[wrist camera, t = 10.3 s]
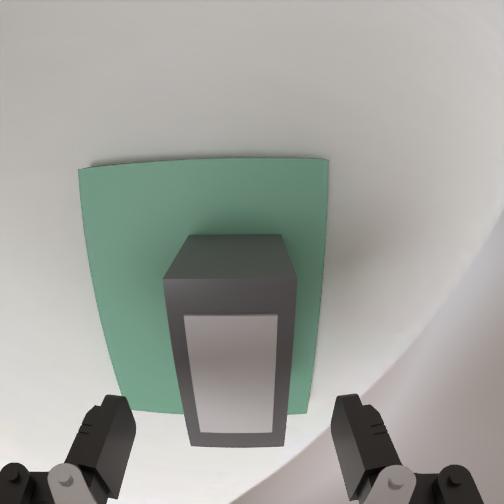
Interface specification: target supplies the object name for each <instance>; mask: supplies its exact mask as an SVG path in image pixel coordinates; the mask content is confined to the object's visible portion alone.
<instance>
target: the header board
mask: <svg viewBox="0 0 504 504" xmlns="http://www.w3.org/2000/svg"><path fill="white" fill-rule="evenodd" d="M328 164H329V160H326V159H316V158H262V157H259V158H205V159H182V160H165V161H150V162H137V163H126V164H115V165H105V166H96V167H88V168H83V169H78V176H79V189H80V200H81V209H82V218H83V226H84V234H85V241H86V248H87V254H88V260H89V266H90V272H91V277H92V282H93V287H94V292H95V297H96V302H97V307H98V311H99V315H100V320H101V324H102V328H103V332H104V336H105V340H106V344H107V347H108V351H109V355H110V358H111V362H112V365H113V369H114V372H115V375H116V379H117V382H118V385H119V388H120V391H121V394H122V396H125V397H126V398H127V400H128V403H129V406H130V409H131V410H138V411H148V412H158V413H170V414H184V412H183V407H182V402H181V396H180V391H179V386H178V380H177V375H176V369H175V363H174V357H173V351H172V345H171V338H170V332H169V325H168V318H167V310H166V303H165V295H164V286H163V277H164V276H165V274H166V272H167V270H168V269H169V267H170V265H171V264H172V262H173V260H174V259H175V257H176V255H177V254H178V252H179V250H180V249H181V247H182V245H183V244H184V242H185V240H186V239H187V237H188V235H240V234H281V236H282V238H283V241H284V244H285V246H286V249H287V251H288V254H289V257H290V259H291V262H292V265H293V267H294V270H295V273H296V275H297V295H296V312H295V327H294V341H293V354H292V367H291V379H290V390H289V401H288V411H287V415H290V414H305V413H307V409H308V402H309V395H310V388H311V381H312V373H313V365H314V357H315V349H316V340H317V331H318V322H319V312H320V302H321V291H322V279H323V266H324V252H325V236H326V218H327V196H328Z"/></svg>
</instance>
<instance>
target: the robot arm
mask: <svg viewBox="0 0 504 504" xmlns="http://www.w3.org/2000/svg"><path fill="white" fill-rule="evenodd" d="M78 432H79V433H77V435H76V437H75V440H74V442H73V444H72V447H71V449H70V451H69V453H68V456H67V458H66V460H65V462H64V463H62V464H58V465H56V466H54V467H53V468H52V469H51V470H50V472H29V471H28V470H27V469H26V467H25V466H23V465H22V464H20V463H9V464H7V465H6V466H4V467H3V468H2V470H1V471H0V504H106V503H107V499H108V498H113V499H118V496H119V492H120V488H121V484H122V481H123V477H124V473H125V470H126V466H127V462H128V459H129V455H130V452H131V448H132V445H133V441H134V438H135V434H136V423H135V420H134V417H133V414H132V411H131V409H130V406H129V403H128V400H127V398H126V397H125V396H116V395H106V396H105V398H104V400H103V402H102V404H101V406H96V405H95V406H94V407H93V408H92V409H91V410H90V411H89V412H88V413H86V416H85V418H84V420H83V422H82V425H81V426H80V429H79V431H78ZM331 434H332V437H333V441H334V445H335V449H336V452H337V456H338V460H339V463H340V467H341V471H342V475H343V478H344V482H345V486H346V490H347V494H348V497H349V501H352V500H359V504H484V503H483V500H482V499H481V496H480V493H479V491H478V489H477V487H476V484H475V482H474V480H473V478H472V476H471V474H470V472H469V471H468V470H467V469H466V468H465V467H463V466H460V465H449V466H447V467H445V468H444V469H443V470H442V471H441V472H440V473H439V474H417V473H413V472H412V470H410V469H409V468H407V467H405V466H403V465H402V463H401V462H400V459H399V457H398V455H397V452H396V450H395V448H394V445H393V443H392V441H391V438H390V436H389V434H388V433H387V429H386V427H385V425H384V422H383V420H382V418H381V416H380V414H379V412H378V411H377V410H376V409H375V408H374V407H372V406H371V405H364V406H363V405H362V403H361V401H360V398H359V396H358V394H349V395H341V396H337V398H336V402H335V406H334V411H333V415H332V420H331Z"/></svg>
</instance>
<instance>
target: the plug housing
mask: <svg viewBox="0 0 504 504" xmlns="http://www.w3.org/2000/svg"><path fill="white" fill-rule="evenodd" d="M163 286H164V295H165V303H166V310H167V318H168V325H169V332H170V338H171V345H172V351H173V357H174V363H175V369H176V375H177V380H178V386H179V391H180V396H181V402H182V407H183V412H184V416H185V421H186V426H187V430H188V435H189V439H190V444H191V446H200V447H230V448H250V447H281V446H284V440H285V431H286V421H287V411H288V401H289V390H290V379H291V367H292V354H293V341H294V327H295V312H296V295H297V275H296V273H295V270H294V267H293V265H292V262H291V259H290V257H289V254H288V251H287V249H286V246H285V244H284V241H283V238H282V236H281V234H240V235H188V237H187V239H186V240H185V242H184V244H183V245H182V247H181V249H180V250H179V252H178V254H177V255H176V257H175V259H174V260H173V262H172V264H171V265H170V267H169V269H168V270H167V272H166V274H165V276H164V277H163Z"/></svg>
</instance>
